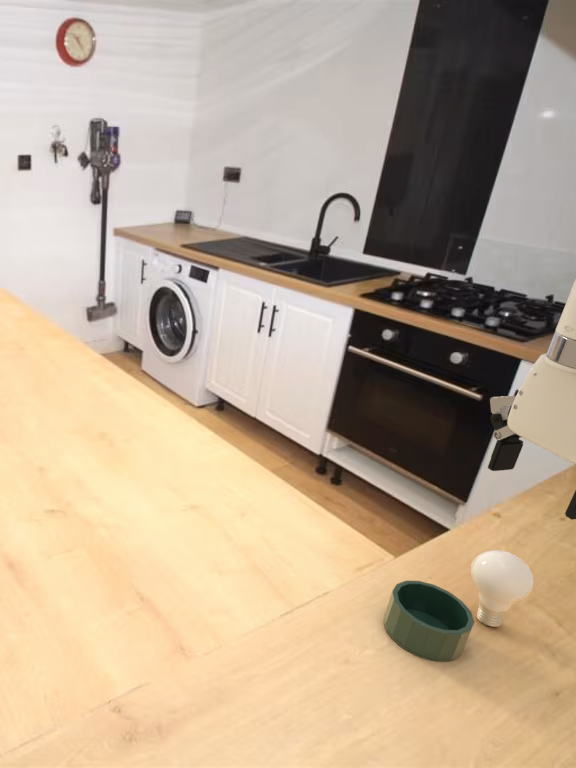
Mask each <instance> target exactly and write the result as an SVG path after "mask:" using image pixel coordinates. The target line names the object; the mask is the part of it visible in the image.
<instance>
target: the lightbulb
mask: <svg viewBox="0 0 576 768" xmlns="http://www.w3.org/2000/svg"><path fill="white" fill-rule="evenodd" d="M470 576H471V578H472V581H473V583H474V585H475V587H476V589H477V592H478V600H479V604H478V608H477V612H476V618H477V619H478V620H479V622H481V624H484V625H485V626H489V627H492V628H497V627H500V626H501V625H502V622H503V619H504V616H505V613H506V612H507V611H508V610H509V609H510V607H511V606H512V605H513V604H514V603H517V602H519V601H521V600H523V599H525V598H527V596H529V594H530V593H531V592H532V590H533V587H534V575H533V572H532V569H531V568H530V567H529V565H528V564H527V563H526V562H525V561H524V559H522V558H520V557H519V556H517V555H515V554H514V553H512V552H509V551H506V550H501V549H490V550H486V551H484V552H481V553H479V554H478V555H477V556H476V557H475V558H473V560H472V563H471V566H470Z"/></svg>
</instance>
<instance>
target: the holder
mask: <svg viewBox="0 0 576 768" xmlns="http://www.w3.org/2000/svg"><path fill="white" fill-rule="evenodd" d="M383 625H384V628H385V630H386V632H387V634H388V635H389V636H390V638H391V639H392V640H393V641H394V642H395V643H396V644H397V645H398V646H400V647H401V648H402V649H404V650H405V651H406V652H408V653H410V654H411V655H414V656H415V657H418V658H421V659H423V660H427V661H431V662H439V663H446V662H452V661H455V660H457V659H458V658H460V657H461V656H462V654H463V651H464V649H465V646H466V644H467V641H468V639H469V637H470V634H471V633H472V630H473V627H474V625H475V619H474V616H473V613H472V611H471V609H470V608H469V607H468V605H466V604H465V602H463V601H462V599H460V598H459V597H457V596H456V595H454V594H453V593H452V592H450V591H449V590H446V589H444V588H442V587H440V586H438V585H436V584H433V583H429V582H425V581H421V580H404V581H401V582H398V583H396V585H394V587H393V589H392V592H391V594H390V596H389V599H388V603H387V606H386V609H385V612H384V617H383Z"/></svg>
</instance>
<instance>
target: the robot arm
mask: <svg viewBox="0 0 576 768" xmlns="http://www.w3.org/2000/svg"><path fill="white" fill-rule="evenodd" d="M489 405H490V413H492V414H490V421H491V424H492V426H493V429H494V432H493V434H492V435H493V438H494V440H496V442H495V445H494V447H493V449H492V453H491V456H490V460H489V462H488V465H487V469H488V470H490V471H492V472H499V471H510V470H514V469H515V467H516V464H517V462H518V459H519V456H520V454H521V451H522V449H523V446H524V441H523V440H522V439H521V438H523V439H525V440H526V441H528V442H529V443H532V444H534V445H536V446H537V447H539V448H542V449H543V450H545V451H547V452H549V453H551V454H552V455H555V456H557V457H558V458H560V459H563V460H565V462H569V463H570V464H572V465H575V466H576V278H575V279H574V282H573V284H572V287H571V290H570V292H569V294H568V297H567V300H566V303H565V305H564V308H563V310H562V312H561V315H560V317H559V320H558V323H557V325H556V328H555V330H554V333H553V335H552V338H551V340H550V343H549V346H548V349H547V351H546V353H543V354H540V356H539V357H538V358H537V359H536V361H535V362H534V363H533V365H532V367H531V368H530V370H529V371H528V373H527V374H526V376H525V378H524V380H523V382H522V383H521V386H520V387H519V389H518V391H517V393H516V395H504V396H503V395H501V396H492V397H490V398H489ZM509 408H510V410H509ZM564 515H565V517H567V518H568V519H570V520H576V490H574V493H573V494H572V497H571V499H570V501H569V504H568V506H567V508H566V510H565V512H564Z"/></svg>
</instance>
